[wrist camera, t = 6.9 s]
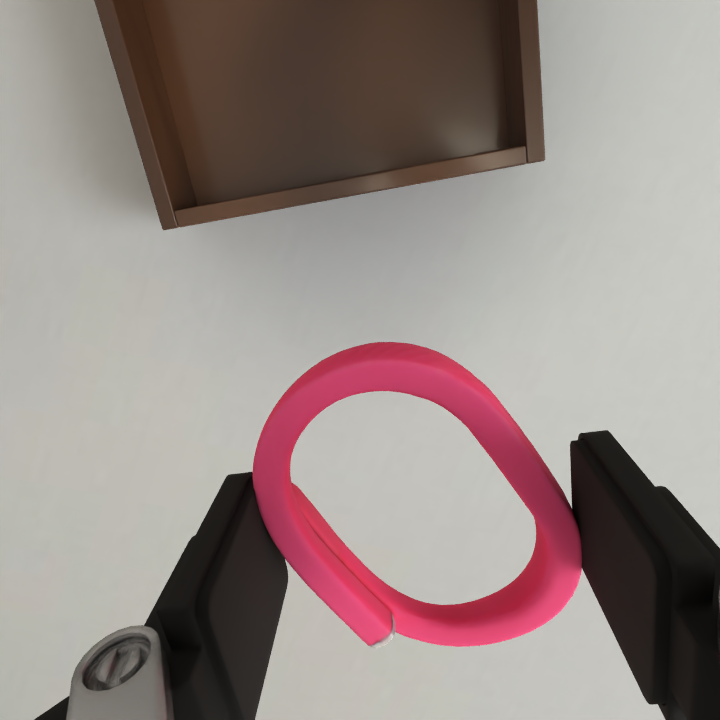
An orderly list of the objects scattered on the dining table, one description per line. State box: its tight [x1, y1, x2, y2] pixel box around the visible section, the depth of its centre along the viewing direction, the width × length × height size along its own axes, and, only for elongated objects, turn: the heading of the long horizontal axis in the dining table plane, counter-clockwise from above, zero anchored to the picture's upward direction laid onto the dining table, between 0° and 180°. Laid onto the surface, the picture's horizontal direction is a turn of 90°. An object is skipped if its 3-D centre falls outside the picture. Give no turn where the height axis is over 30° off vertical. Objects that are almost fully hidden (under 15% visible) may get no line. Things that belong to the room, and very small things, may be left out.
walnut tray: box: [94, 0, 545, 230], centre depth 20 cm, size 16×13×3 cm
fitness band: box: [253, 342, 582, 649], centre depth 12 cm, size 8×6×2 cm
